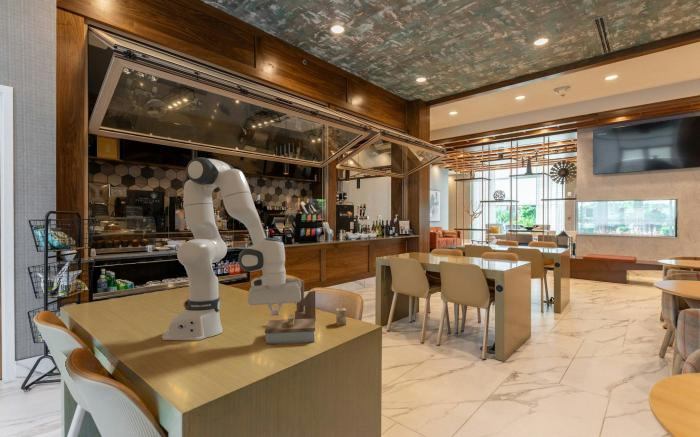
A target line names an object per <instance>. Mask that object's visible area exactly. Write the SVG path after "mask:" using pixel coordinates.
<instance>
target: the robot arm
mask: <svg viewBox="0 0 700 437" xmlns="http://www.w3.org/2000/svg"><path fill="white" fill-rule="evenodd" d="M185 172H186V175H187V177H188V180H187V181H186V182H185V183H184V186H183V209H184V217H185V225H186V227H187V228H188V229H189V230H190V231H191V233H192V235H193V239H190V240H188V241H185V242H183V243H182V244H181V245H180V246H179V247H178V248H177V252H176V256H177V260H178V262H179V263H180V264H181V265H182V266H184V269H185V271H186V275H187V279H188V285H189V290H188V291H189V294H188V295H189V298H187V299H186V301H184V302H183V305H182V306H183V307H184V309H183V310H181V311H180V312H179V313H178V314H177V315H175V316H174V317H173V318H172V319H171V321H170V322H169V326H168V330H166V331H165V332H164V333H163V334H162V336H161V339H162V340H163V341H201V340H203V339H206V338H211V337H213V336H217V335H220V334H221V333H222V332H224V329H223V326H222V322H221V317H220V316H221V315H220V308H221V300H220V296H219V277H218V276H217V275H216V274H215V272H214V270H213V265H212V264H215V263H218V262H219V261H221V260H222V259H224V258H225V256H226V255H227V252H228V246H227V244H226V243H225V241H224V240H223V239H222V237H221V235H220V233H219V229H218V227H217V223H216V218H215V211H214V209H215V208H214V202H213V191H214V190H216V191H219V190H220V193H221V197H222V200H223V201H222V202H223V206H224V208H225V210H226V212H227V213H228V215H229V216H230V217H231V218H232V219H234V220H237V221H238V222H240V223H242V224H243V225H244V226H245V227H246V228H247V231H248V234H249V236H250V239H251V242H252V246H249V247H246V248H244V249H242V250H241V251H240V252H239V254H238V257H237V260H238V261H237V262H238V265H239V267H240V268H241V269H242V270H243V271H245V272H250V273H251V272H257V271H260V270H261V272H262V275H260V276H257V277H255V278H253V279H252V280H251V281H250V288H249V290H248V297H247V303H248V305H250V306H262V305H264V306H265V305H268V308H269V311H271V316H280V310H281V308H282V307H283V304H292V303H297V302H300V301H301V291H300V289H301V287H302V283H301V281H300V280H301V279H298V278H295V277H294V278H287V274H286V273H287V272H286V271H287V270H286V267H285V266H286V250H285V244H284V242H283V241H282V240H281V239H279V238H275V237H268V236H267V234H266V230H265V228H264V226H263V223H262V220H261V217H260V215H259V213H258V210H257V208H256V206H255V203H254V200H253V196H252V194H251V193H252V192H251V188H250V186H249V184H248V181H247V179H246V176H245V174H244V173H243V171H242V170H240V169H238V168H234V167H233V166H232V165H231V164H230V163H228V162H225V161H222V160H218V159H217V158H207V157H202V156H201V157H195V158H192V159H191V160H190V161H189V162H188V163H187V166H186V171H185ZM298 280H299V281H298ZM274 304H275V305H276V304H277V307H278V308H277V309H274V307H273V306H274Z"/></svg>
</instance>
